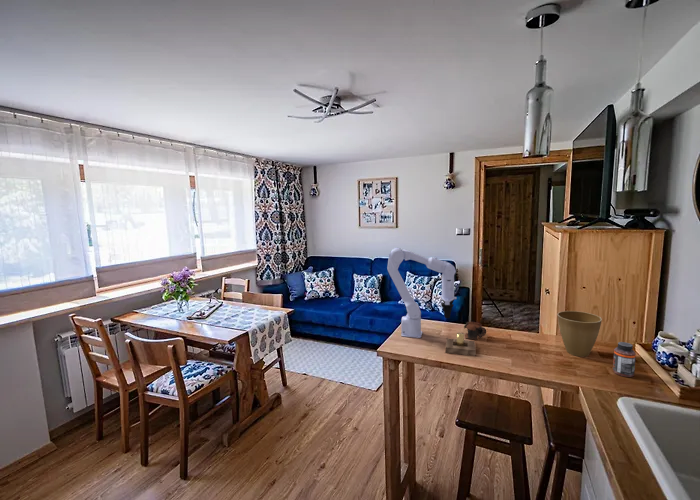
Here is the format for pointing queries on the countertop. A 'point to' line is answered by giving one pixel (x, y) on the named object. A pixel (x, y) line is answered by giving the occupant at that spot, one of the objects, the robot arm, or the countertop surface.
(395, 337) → the countertop surface
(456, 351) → the slot block
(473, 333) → the pottery mug
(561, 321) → the plant pot
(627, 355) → the supplement bottle
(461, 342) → the pin
